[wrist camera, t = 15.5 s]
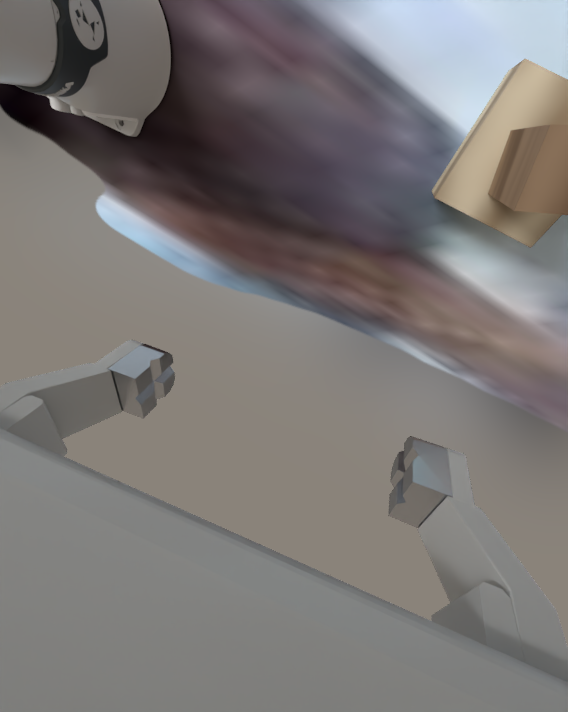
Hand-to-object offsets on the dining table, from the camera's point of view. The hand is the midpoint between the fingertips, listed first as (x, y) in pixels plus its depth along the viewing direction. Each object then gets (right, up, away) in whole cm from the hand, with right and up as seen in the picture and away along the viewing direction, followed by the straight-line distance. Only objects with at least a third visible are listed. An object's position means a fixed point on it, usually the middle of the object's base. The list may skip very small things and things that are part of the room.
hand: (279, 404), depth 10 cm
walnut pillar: (+23, +19, +18) cm, 34 cm away
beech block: (+24, +22, +23) cm, 40 cm away
